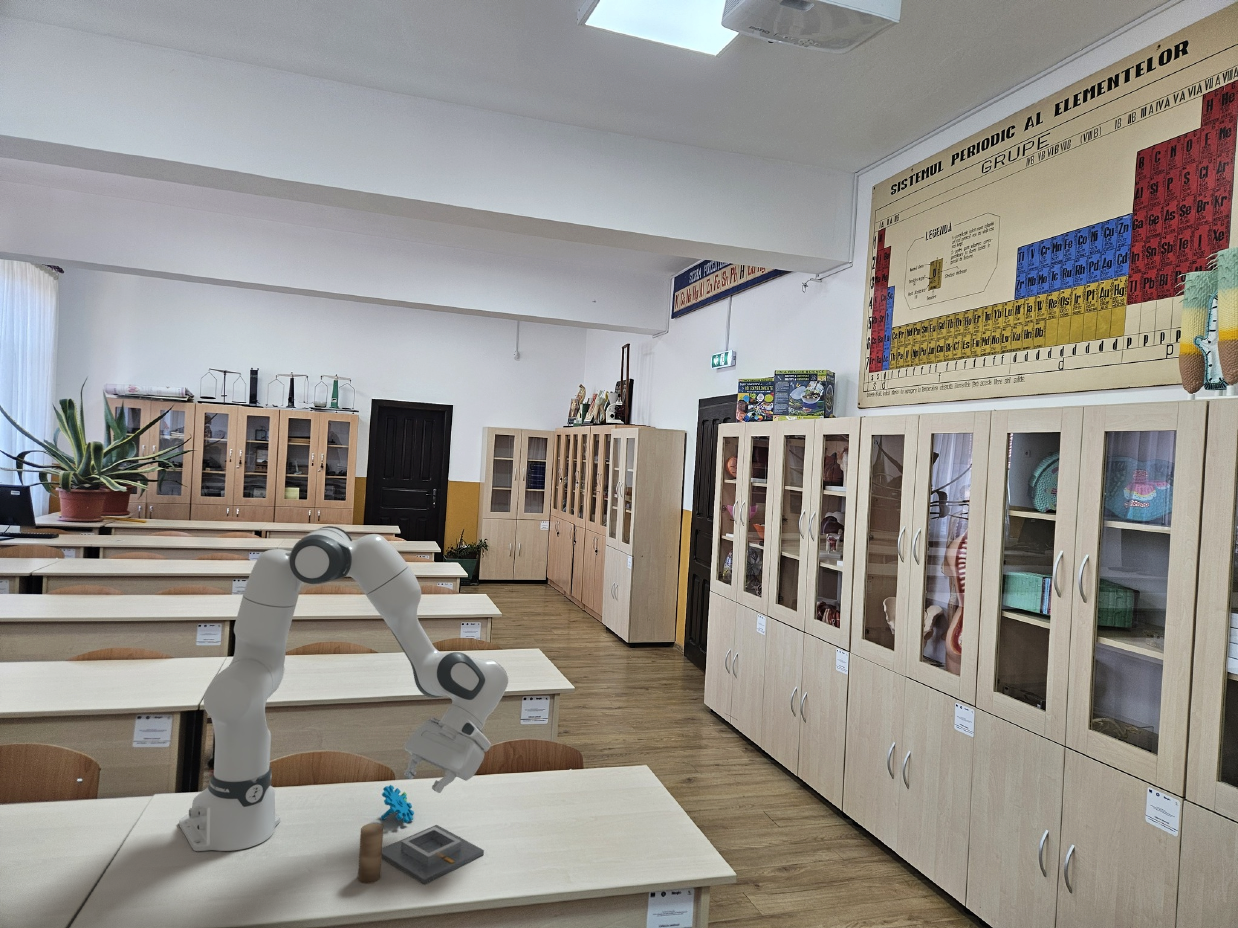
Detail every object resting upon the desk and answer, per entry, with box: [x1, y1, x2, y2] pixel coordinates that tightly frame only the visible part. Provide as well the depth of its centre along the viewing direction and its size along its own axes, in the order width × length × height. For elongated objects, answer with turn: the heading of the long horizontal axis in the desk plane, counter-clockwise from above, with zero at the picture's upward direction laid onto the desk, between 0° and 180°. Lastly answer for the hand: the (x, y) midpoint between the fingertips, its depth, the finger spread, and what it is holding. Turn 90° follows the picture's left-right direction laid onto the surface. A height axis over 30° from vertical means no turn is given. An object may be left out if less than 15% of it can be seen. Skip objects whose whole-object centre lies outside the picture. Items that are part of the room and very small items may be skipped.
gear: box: [380, 784, 415, 824], centre depth 183 cm, size 11×6×10 cm
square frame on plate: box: [382, 824, 485, 885], centre depth 168 cm, size 16×16×3 cm
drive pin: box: [357, 823, 384, 884], centre depth 158 cm, size 4×4×10 cm
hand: (421, 783), depth 168 cm, fingers open, 8 cm apart
